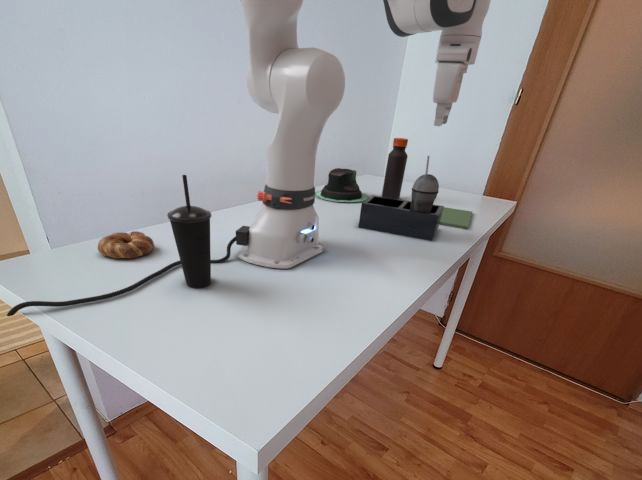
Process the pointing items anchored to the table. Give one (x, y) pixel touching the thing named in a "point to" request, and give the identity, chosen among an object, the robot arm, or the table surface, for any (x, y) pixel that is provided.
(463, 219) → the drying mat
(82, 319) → the table surface
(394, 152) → the bottle
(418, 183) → the beverage cup
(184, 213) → the drinking cup
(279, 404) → the table surface
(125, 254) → the braided bread ring
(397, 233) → the black divided storage box
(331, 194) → the black fabric hat shape
